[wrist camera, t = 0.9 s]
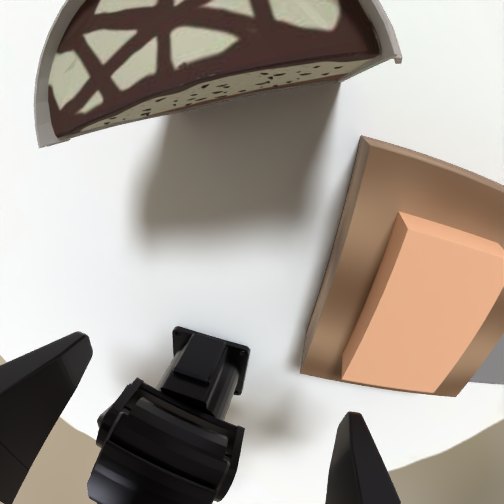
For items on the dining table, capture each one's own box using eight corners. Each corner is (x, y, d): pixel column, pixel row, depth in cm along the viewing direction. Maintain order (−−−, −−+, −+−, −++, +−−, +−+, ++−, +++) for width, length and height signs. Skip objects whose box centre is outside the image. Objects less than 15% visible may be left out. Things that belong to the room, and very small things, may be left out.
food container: (344, -20, 11) (350, -124, 3) (368, 80, 14) (419, 54, 5) (141, 31, 15) (12, 15, 6) (159, 118, 17) (31, 152, 9)
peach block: (428, 368, 16) (433, 392, 15) (342, 353, 17) (341, 379, 16) (498, 243, 12) (515, 262, 10) (398, 211, 13) (408, 228, 11)
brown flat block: (445, 359, 20) (455, 397, 17) (306, 332, 22) (299, 373, 19) (527, 196, 14) (559, 220, 10) (361, 135, 15) (370, 145, 12)
